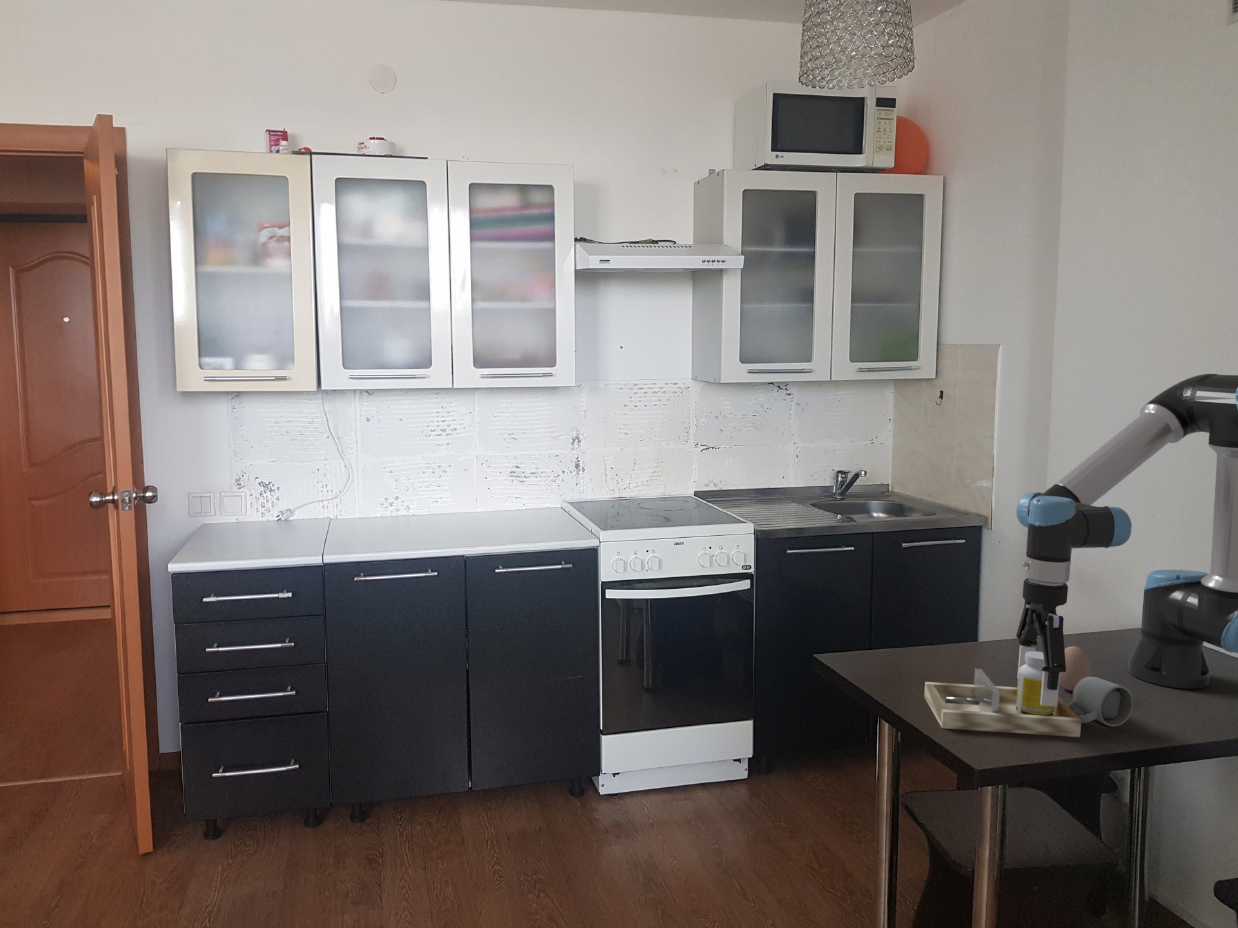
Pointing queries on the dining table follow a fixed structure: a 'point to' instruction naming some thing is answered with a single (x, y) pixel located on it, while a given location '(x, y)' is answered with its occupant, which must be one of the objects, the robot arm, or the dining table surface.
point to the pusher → (980, 694)
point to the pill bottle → (1031, 686)
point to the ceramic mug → (1102, 701)
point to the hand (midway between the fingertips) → (1036, 691)
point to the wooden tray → (1004, 720)
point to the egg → (1074, 667)
